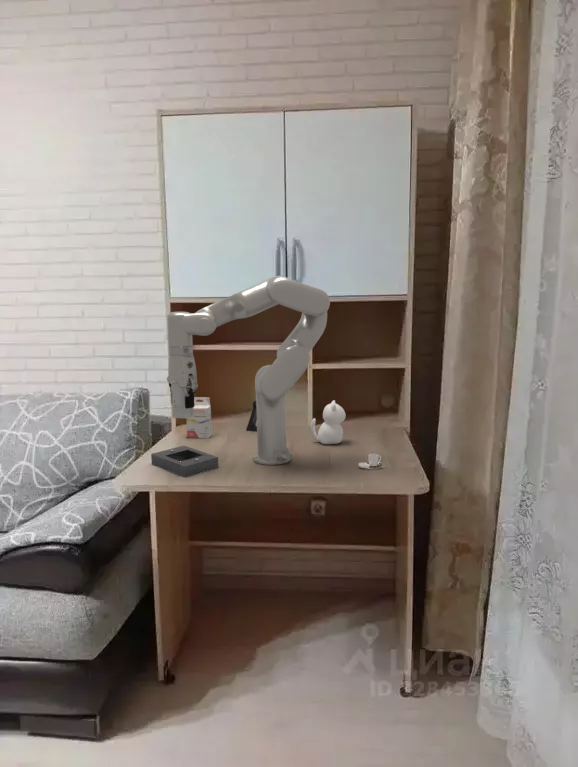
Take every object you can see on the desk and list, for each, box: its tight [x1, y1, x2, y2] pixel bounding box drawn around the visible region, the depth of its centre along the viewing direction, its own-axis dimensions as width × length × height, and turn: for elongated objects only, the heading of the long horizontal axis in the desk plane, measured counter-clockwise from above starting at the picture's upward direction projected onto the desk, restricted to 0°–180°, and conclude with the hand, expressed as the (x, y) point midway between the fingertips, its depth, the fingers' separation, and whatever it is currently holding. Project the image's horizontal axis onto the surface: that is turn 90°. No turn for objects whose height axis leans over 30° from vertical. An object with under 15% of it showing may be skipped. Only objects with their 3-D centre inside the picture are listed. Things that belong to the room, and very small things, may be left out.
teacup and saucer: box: [358, 453, 382, 469], centre depth 217 cm, size 9×8×4 cm
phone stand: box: [246, 399, 257, 432], centre depth 262 cm, size 9×6×12 cm, turn 74°
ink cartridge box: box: [185, 396, 213, 439], centre depth 254 cm, size 9×5×15 cm, turn 84°
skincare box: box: [171, 380, 193, 419], centre depth 218 cm, size 6×4×12 cm
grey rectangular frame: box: [150, 445, 219, 478], centre depth 221 cm, size 19×13×4 cm
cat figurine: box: [310, 400, 347, 445], centre depth 242 cm, size 9×12×15 cm
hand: (182, 405), depth 218 cm, fingers closed on skincare box, 7 cm apart
